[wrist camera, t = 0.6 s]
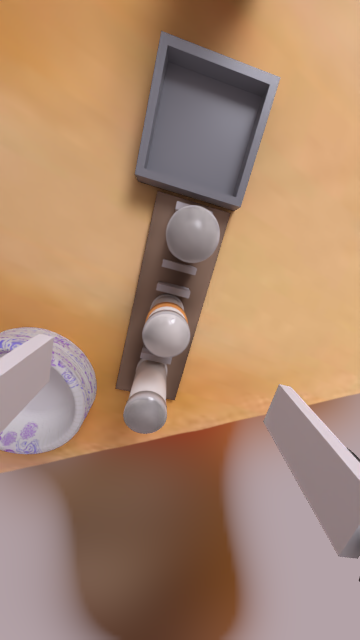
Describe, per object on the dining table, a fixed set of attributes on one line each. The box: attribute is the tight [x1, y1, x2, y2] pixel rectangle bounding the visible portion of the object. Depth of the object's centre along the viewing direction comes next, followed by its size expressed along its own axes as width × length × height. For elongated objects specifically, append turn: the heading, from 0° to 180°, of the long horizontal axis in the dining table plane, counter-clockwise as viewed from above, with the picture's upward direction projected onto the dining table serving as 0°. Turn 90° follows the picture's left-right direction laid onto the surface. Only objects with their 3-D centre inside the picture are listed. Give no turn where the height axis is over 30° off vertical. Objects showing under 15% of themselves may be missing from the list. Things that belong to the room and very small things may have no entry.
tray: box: [135, 31, 280, 211], centre depth 24 cm, size 12×12×2 cm
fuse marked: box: [142, 293, 190, 358], centre depth 26 cm, size 4×4×10 cm
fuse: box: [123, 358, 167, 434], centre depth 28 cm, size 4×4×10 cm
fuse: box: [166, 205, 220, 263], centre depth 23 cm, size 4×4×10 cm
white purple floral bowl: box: [0, 327, 97, 454], centre depth 29 cm, size 15×15×8 cm
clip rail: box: [115, 191, 230, 400], centre depth 29 cm, size 9×27×4 cm, turn 165°
